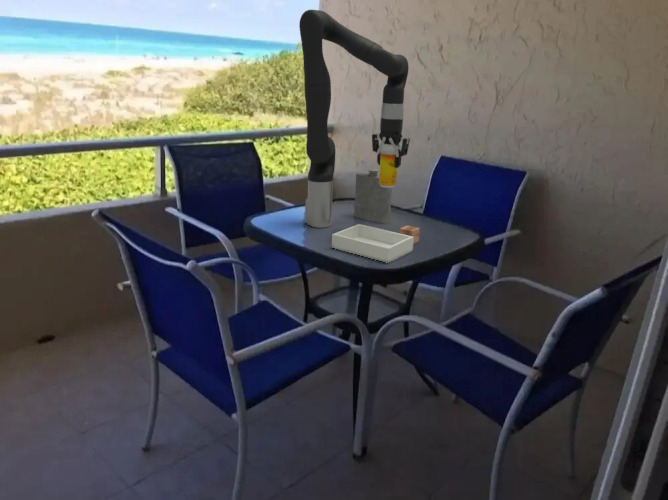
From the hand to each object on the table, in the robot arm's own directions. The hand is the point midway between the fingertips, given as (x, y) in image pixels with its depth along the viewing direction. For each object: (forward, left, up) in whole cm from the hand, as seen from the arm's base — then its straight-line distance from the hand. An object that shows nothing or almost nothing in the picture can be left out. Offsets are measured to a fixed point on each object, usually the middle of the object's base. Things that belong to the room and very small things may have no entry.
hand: (388, 165), depth 201 cm
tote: (+5, -16, -25) cm, 30 cm away
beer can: (0, 0, -7) cm, 7 cm away
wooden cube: (+10, 0, -25) cm, 27 cm away
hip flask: (-15, +14, -26) cm, 33 cm away
